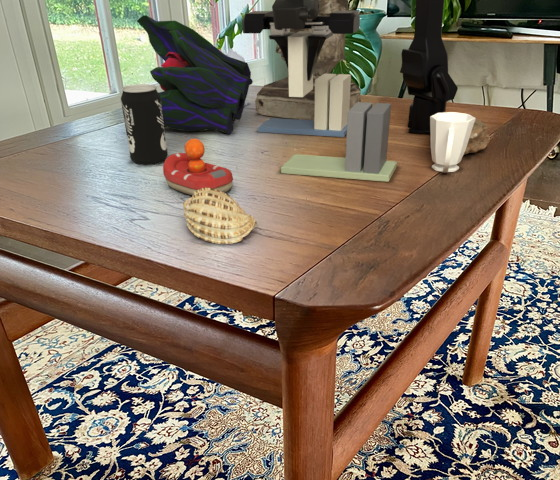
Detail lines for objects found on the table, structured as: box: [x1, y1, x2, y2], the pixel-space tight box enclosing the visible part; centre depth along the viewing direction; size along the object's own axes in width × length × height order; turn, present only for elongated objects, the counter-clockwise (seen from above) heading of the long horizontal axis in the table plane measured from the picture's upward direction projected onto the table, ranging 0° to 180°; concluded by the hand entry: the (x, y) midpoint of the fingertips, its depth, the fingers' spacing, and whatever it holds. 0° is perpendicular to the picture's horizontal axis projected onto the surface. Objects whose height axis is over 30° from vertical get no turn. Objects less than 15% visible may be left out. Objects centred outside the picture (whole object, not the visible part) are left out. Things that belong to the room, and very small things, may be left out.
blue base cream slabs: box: [257, 73, 352, 138], centre depth 117 cm, size 18×8×10 cm, turn 72°
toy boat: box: [162, 138, 234, 197], centre depth 89 cm, size 8×12×8 cm, turn 47°
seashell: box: [182, 188, 258, 245], centre depth 76 cm, size 8×6×10 cm
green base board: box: [280, 101, 398, 183], centre depth 94 cm, size 18×8×10 cm, turn 72°
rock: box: [429, 117, 491, 155], centre depth 104 cm, size 13×11×5 cm
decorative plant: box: [136, 14, 254, 135], centre depth 118 cm, size 21×26×30 cm
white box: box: [287, 31, 313, 97], centre depth 99 cm, size 2×7×9 cm, turn 163°
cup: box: [430, 111, 476, 174], centre depth 94 cm, size 7×10×8 cm
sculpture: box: [254, 0, 362, 120], centre depth 124 cm, size 19×17×30 cm
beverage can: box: [120, 83, 169, 166], centre depth 100 cm, size 7×7×12 cm
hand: (301, 80), depth 101 cm, fingers closed on white box, 2 cm apart
